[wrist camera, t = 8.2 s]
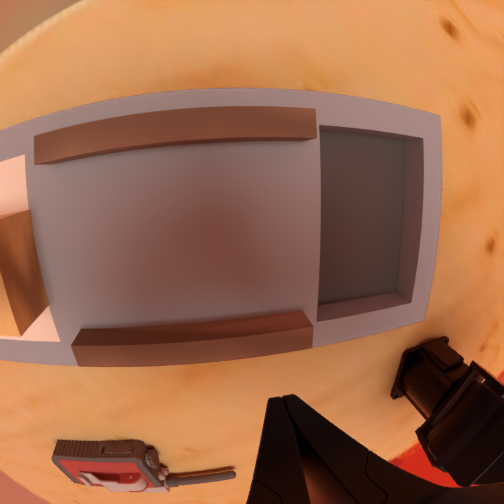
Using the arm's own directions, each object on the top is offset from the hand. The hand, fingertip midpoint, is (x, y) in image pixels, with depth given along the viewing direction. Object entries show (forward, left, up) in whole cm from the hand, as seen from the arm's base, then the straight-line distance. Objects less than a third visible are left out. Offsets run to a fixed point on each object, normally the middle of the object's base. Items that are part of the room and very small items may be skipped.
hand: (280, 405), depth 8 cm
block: (+3, +16, -9) cm, 19 cm away
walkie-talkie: (-20, +12, -12) cm, 26 cm away
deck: (+3, +3, -11) cm, 12 cm away
